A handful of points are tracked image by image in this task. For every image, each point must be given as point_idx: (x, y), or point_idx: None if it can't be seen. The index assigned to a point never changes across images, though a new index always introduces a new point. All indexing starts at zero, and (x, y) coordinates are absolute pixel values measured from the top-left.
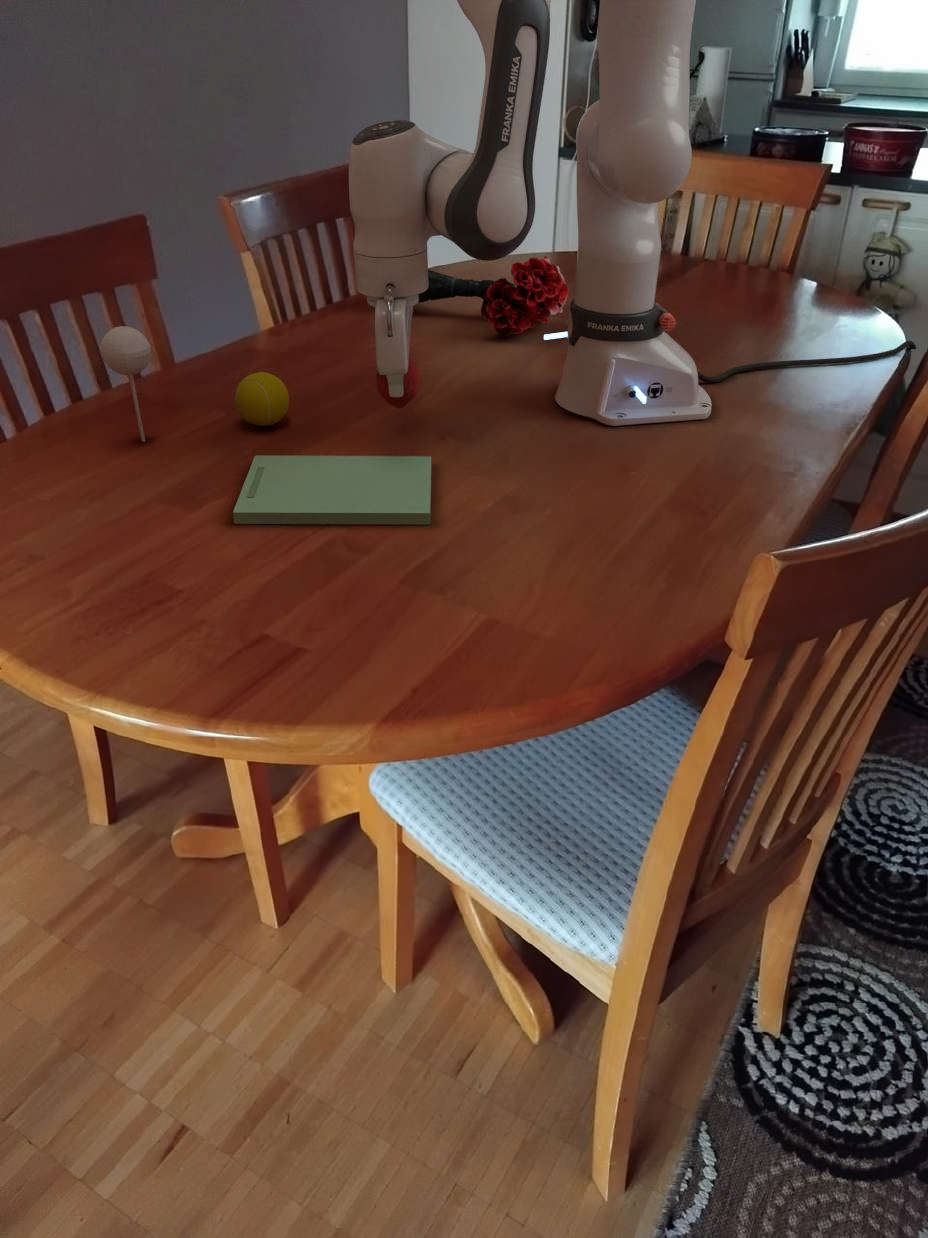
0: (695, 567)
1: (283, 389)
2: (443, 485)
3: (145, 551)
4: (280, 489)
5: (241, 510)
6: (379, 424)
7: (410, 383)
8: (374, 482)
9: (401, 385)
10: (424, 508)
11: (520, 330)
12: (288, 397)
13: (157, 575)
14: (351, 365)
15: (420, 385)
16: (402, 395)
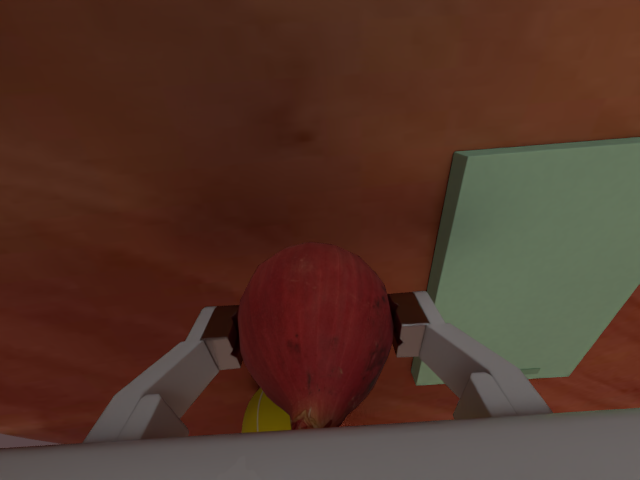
0: None
1: (279, 425)
2: (549, 115)
3: (576, 400)
4: (526, 350)
5: (568, 371)
6: (253, 266)
7: (379, 290)
8: (556, 250)
9: (441, 319)
10: None
11: None
12: (270, 404)
13: (629, 387)
14: (8, 336)
15: (314, 248)
16: (424, 291)
